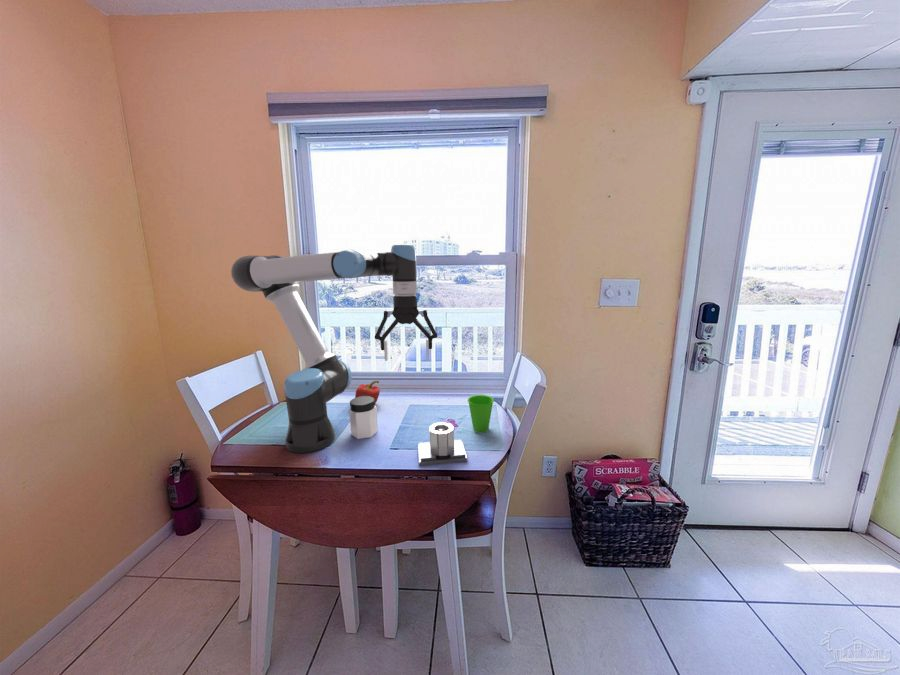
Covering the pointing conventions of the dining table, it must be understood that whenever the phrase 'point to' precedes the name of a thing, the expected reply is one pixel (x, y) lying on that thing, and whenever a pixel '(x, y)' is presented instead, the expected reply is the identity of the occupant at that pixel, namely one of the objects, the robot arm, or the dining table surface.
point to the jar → (363, 417)
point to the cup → (480, 411)
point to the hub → (441, 439)
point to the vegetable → (368, 391)
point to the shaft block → (432, 459)
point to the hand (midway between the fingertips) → (407, 359)
